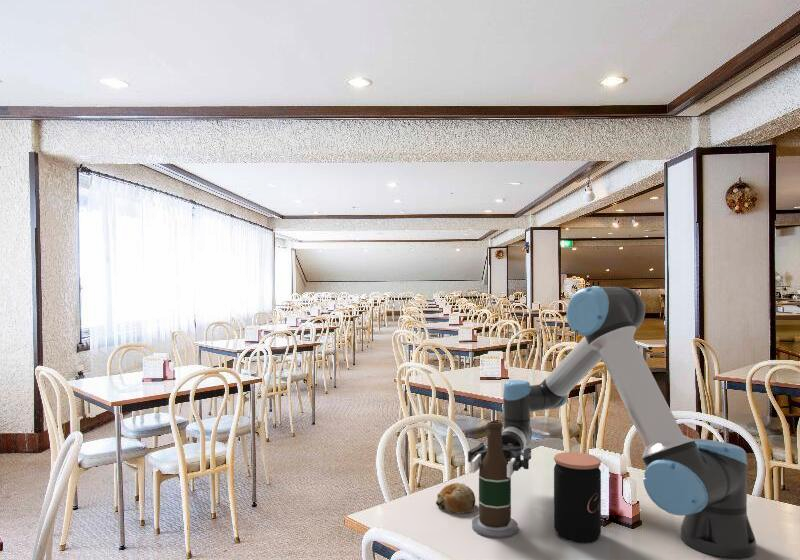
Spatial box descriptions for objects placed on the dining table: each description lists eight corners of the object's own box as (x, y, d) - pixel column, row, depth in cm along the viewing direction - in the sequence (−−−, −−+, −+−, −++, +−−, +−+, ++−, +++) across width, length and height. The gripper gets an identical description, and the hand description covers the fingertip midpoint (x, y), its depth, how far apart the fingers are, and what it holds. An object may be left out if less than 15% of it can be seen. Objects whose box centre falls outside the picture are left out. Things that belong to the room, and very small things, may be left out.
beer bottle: (514, 527, 136) (513, 425, 137) (481, 527, 136) (481, 425, 137) (507, 516, 144) (507, 419, 145) (476, 515, 144) (476, 418, 145)
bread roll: (466, 529, 147) (480, 502, 147) (430, 509, 149) (444, 482, 149) (469, 514, 157) (482, 488, 157) (436, 495, 159) (448, 470, 158)
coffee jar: (594, 548, 129) (594, 468, 129) (548, 537, 135) (548, 460, 135) (605, 531, 138) (605, 456, 138) (561, 521, 144) (561, 449, 144)
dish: (514, 519, 145) (514, 513, 145) (521, 538, 134) (521, 532, 134) (470, 518, 145) (470, 513, 145) (474, 537, 134) (474, 531, 134)
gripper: (548, 462, 153) (534, 491, 131) (472, 453, 160) (448, 479, 139) (548, 434, 153) (534, 458, 131) (472, 427, 160) (448, 448, 139)
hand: (490, 469), depth 135 cm, fingers open, 8 cm apart
